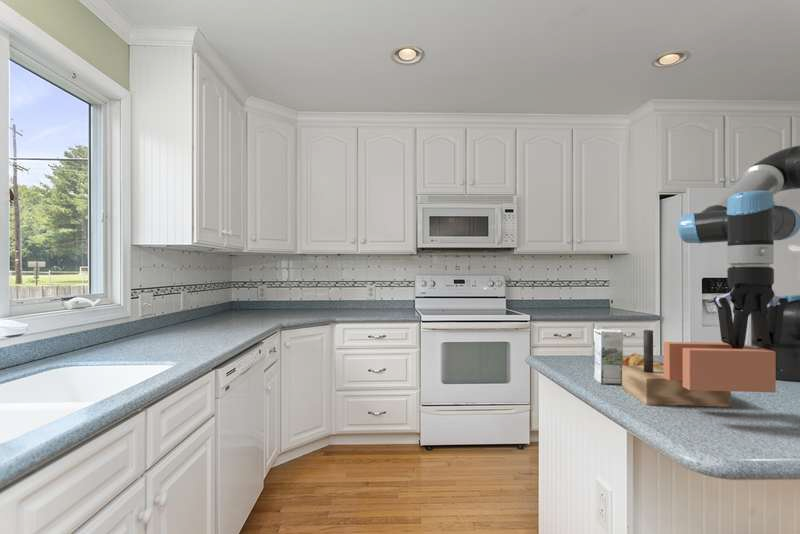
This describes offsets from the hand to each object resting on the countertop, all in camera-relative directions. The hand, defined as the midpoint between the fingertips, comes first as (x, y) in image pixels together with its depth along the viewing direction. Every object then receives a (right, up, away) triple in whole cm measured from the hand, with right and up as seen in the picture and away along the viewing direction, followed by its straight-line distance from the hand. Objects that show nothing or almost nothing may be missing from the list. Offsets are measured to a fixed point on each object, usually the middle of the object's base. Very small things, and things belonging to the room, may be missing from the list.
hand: (750, 378), depth 89 cm
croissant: (-5, -9, +32) cm, 34 cm away
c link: (-7, -1, +1) cm, 7 cm away
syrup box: (-16, -8, +28) cm, 33 cm away
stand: (-7, -8, +14) cm, 18 cm away
